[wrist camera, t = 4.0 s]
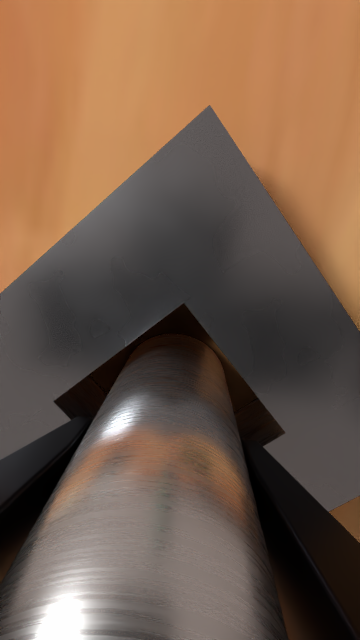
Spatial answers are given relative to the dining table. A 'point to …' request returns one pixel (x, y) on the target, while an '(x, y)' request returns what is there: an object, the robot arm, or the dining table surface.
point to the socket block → (201, 299)
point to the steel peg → (150, 518)
